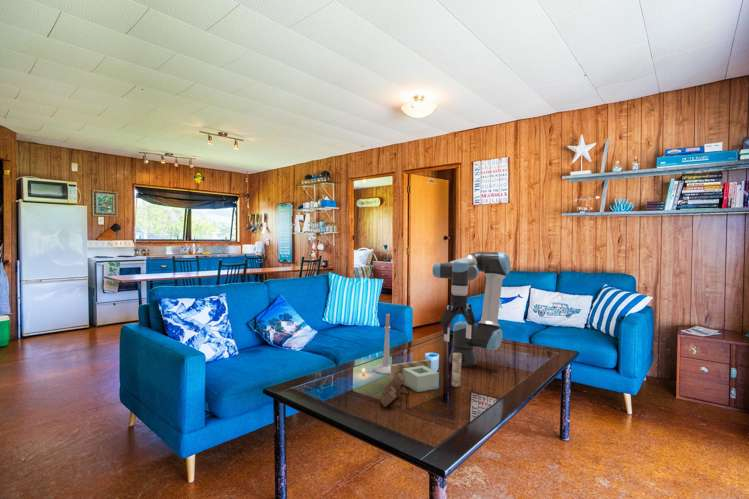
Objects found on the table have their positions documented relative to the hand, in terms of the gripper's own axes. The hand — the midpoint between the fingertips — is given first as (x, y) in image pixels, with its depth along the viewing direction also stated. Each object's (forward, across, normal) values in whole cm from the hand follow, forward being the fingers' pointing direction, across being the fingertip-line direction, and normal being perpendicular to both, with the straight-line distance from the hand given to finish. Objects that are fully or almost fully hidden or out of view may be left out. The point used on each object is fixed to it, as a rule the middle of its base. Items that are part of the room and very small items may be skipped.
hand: (457, 339), depth 183 cm
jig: (+23, +16, -5) cm, 28 cm away
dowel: (+23, 0, 0) cm, 23 cm away
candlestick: (+23, +17, -35) cm, 45 cm away
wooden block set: (+22, +35, -2) cm, 42 cm away
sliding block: (+21, +16, -7) cm, 28 cm away
